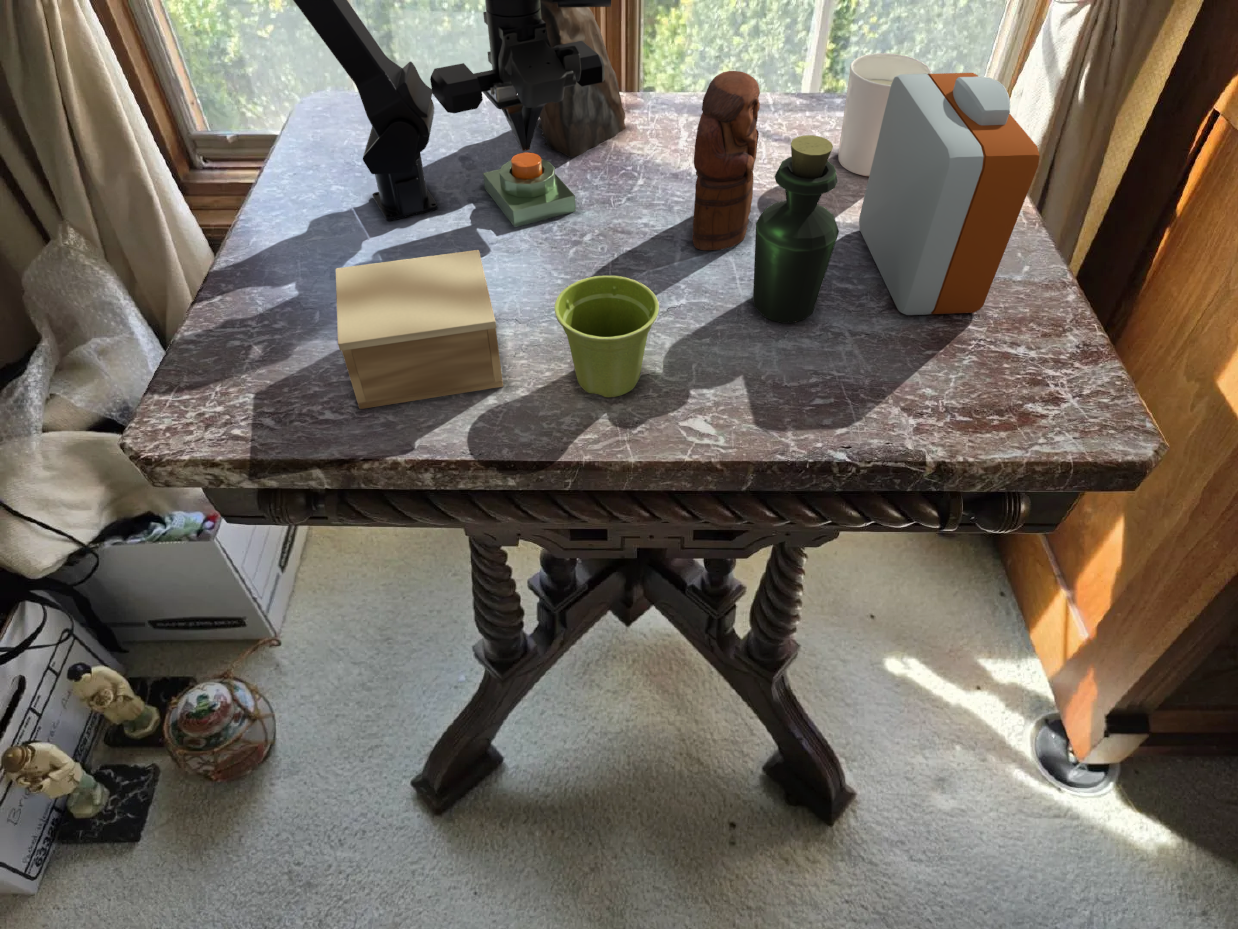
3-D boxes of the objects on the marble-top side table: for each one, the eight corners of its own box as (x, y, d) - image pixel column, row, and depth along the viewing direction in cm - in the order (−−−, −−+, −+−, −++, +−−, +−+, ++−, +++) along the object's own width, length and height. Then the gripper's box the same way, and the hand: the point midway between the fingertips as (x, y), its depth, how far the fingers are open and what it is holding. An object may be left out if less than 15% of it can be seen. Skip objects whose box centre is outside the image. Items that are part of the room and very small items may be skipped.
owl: (570, 163, 111) (564, -1, 97) (501, 135, 117) (485, -25, 102) (630, 128, 118) (632, -30, 103) (562, 103, 123) (554, -52, 109)
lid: (496, 328, 75) (495, 321, 75) (339, 351, 73) (337, 343, 73) (479, 256, 83) (478, 249, 82) (337, 275, 81) (335, 268, 80)
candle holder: (917, 156, 113) (943, 63, 104) (891, 187, 107) (916, 93, 99) (848, 137, 117) (867, 46, 108) (820, 167, 111) (837, 73, 102)
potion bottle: (805, 278, 94) (836, 120, 81) (833, 323, 89) (871, 161, 75) (735, 288, 93) (755, 128, 80) (759, 333, 87) (785, 171, 74)
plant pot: (585, 423, 78) (582, 350, 72) (543, 364, 84) (538, 291, 78) (673, 391, 81) (678, 319, 75) (627, 336, 87) (628, 264, 81)
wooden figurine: (738, 259, 97) (757, 102, 83) (683, 250, 98) (694, 94, 85) (756, 206, 104) (776, 55, 91) (705, 199, 105) (718, 48, 92)
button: (507, 169, 103) (506, 156, 102) (535, 163, 104) (534, 149, 103) (519, 183, 101) (517, 169, 100) (546, 176, 102) (546, 162, 101)
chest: (503, 386, 82) (495, 322, 76) (359, 409, 80) (339, 344, 74) (488, 320, 89) (479, 256, 83) (355, 339, 87) (337, 275, 81)
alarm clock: (981, 318, 89) (1056, 129, 74) (899, 321, 89) (958, 132, 74) (926, 223, 102) (981, 45, 87) (854, 225, 101) (897, 47, 86)
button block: (484, 189, 107) (481, 159, 104) (543, 174, 109) (541, 145, 106) (514, 227, 101) (511, 197, 98) (575, 211, 103) (574, 181, 100)
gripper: (453, 50, 81) (473, 199, 92) (627, 18, 87) (626, 162, 98) (418, 11, 88) (440, 154, 99) (581, -16, 93) (585, 122, 105)
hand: (524, 148), depth 100 cm, fingers closed
